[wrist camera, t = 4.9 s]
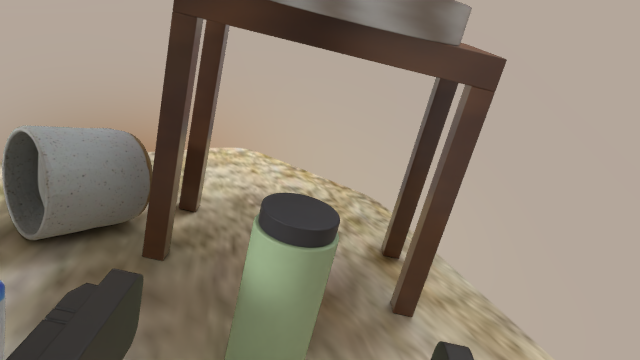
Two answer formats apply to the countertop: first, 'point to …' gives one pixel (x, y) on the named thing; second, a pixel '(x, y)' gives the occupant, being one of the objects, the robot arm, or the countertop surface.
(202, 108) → the pan stand
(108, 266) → the countertop surface
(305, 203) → the spice bottle
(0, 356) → the medicine box
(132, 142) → the ceramic mug
